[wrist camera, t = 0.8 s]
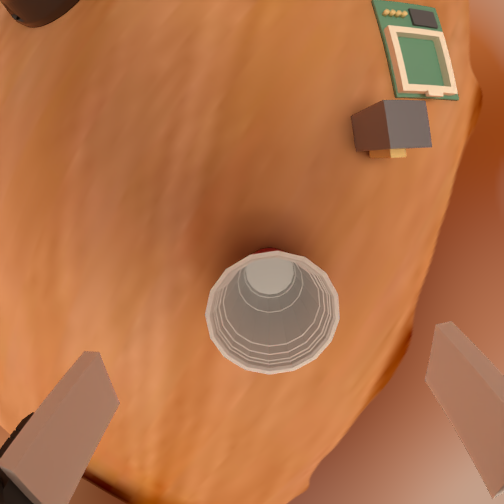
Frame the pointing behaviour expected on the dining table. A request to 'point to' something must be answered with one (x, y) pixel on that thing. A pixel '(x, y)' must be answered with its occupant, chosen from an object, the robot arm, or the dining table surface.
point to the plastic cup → (272, 312)
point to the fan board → (415, 51)
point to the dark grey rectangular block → (391, 128)
